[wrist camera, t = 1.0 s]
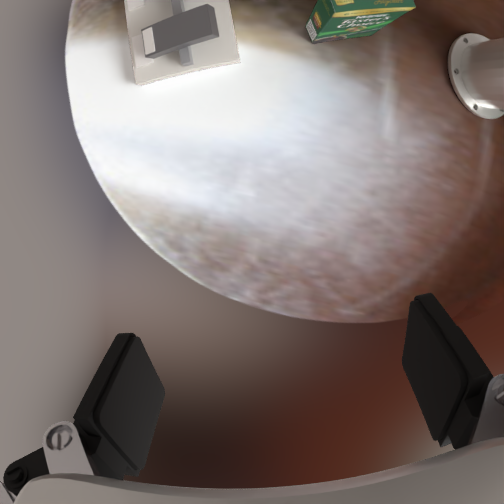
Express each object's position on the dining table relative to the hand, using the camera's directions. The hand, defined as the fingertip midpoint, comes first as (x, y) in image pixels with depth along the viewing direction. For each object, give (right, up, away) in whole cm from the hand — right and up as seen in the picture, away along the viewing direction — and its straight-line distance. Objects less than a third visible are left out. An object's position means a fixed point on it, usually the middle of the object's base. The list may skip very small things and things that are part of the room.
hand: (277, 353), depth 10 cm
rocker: (-8, +26, +16) cm, 31 cm away
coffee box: (+9, +29, +19) cm, 36 cm away
